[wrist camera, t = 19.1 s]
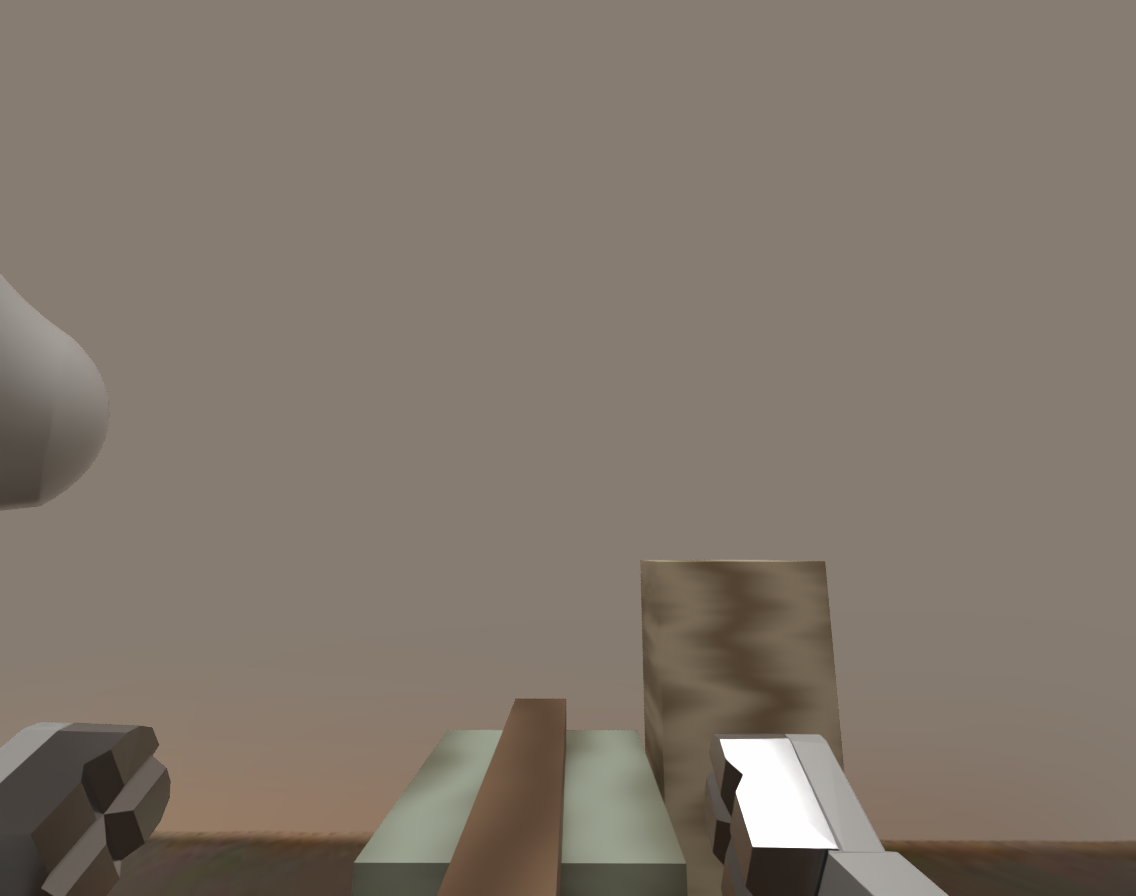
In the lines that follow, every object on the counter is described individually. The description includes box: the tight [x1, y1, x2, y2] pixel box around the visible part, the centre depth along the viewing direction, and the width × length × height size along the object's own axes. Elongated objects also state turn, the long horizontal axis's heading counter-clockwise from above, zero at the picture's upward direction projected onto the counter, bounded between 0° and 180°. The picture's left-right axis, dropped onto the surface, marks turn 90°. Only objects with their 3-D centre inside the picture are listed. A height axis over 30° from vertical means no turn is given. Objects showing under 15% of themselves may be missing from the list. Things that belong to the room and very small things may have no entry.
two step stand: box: [352, 560, 844, 896], centre depth 28 cm, size 23×19×26 cm
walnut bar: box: [437, 699, 566, 896], centre depth 22 cm, size 3×20×2 cm, turn 179°
